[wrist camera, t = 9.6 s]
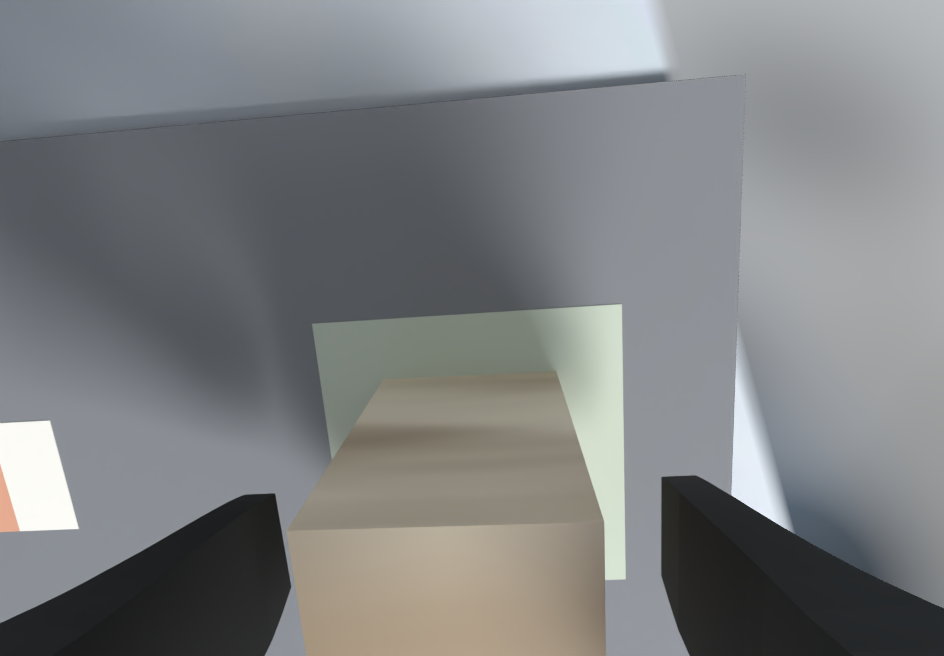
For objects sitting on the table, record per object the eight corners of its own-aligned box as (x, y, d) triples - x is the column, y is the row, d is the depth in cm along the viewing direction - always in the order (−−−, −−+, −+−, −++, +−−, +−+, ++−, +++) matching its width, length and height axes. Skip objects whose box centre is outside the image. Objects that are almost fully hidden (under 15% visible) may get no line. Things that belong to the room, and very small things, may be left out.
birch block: (561, 526, 13) (607, 778, 8) (399, 531, 14) (326, 777, 8) (556, 371, 13) (605, 522, 7) (383, 379, 13) (285, 530, 7)
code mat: (718, 712, 15) (723, 724, 15) (-103, 724, 17) (-114, 734, 16) (739, 77, 11) (745, 73, 11) (-317, 172, 13) (-337, 171, 13)
